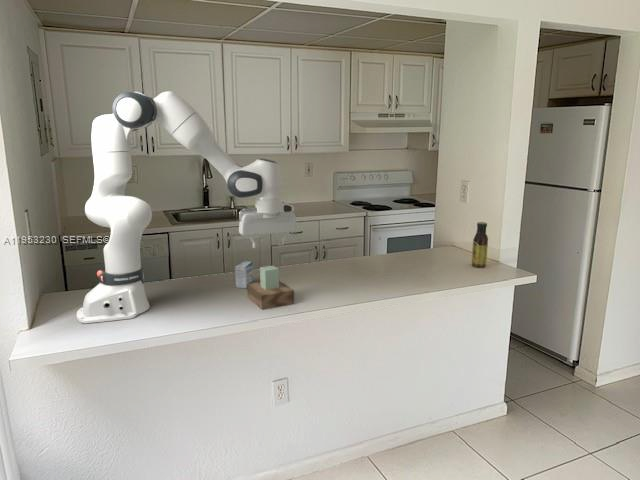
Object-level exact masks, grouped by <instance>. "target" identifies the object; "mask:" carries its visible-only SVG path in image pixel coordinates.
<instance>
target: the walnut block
mask: <svg viewBox="0 0 640 480" xmlns="http://www.w3.org/2000/svg"><path fill="white" fill-rule="evenodd" d="M246 290H247V291H246V293H247V298H248V299H249V300H250V301H251V302H252V303H253V304H254V305H256V306H257V307H258V308H259V309H261V310H267V309H273V308H276V307H277V308H279V307H284V306H289V305H293V304H295V290H294V289H293V288H291V287H290V286H288V285H287V284H285V283H284V282H282V281H281V280H279V288H276V289H270V290H265V289H264V288H262V287H261V286H260V281H259V282H253V283H252V284H247V288H246Z"/></svg>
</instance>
